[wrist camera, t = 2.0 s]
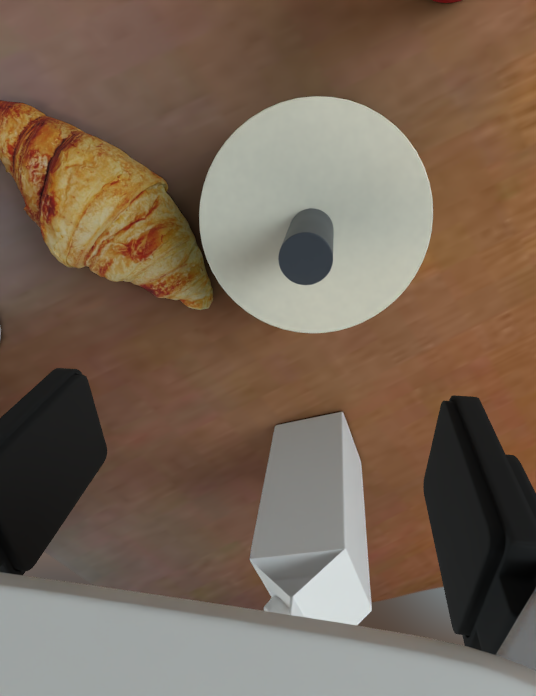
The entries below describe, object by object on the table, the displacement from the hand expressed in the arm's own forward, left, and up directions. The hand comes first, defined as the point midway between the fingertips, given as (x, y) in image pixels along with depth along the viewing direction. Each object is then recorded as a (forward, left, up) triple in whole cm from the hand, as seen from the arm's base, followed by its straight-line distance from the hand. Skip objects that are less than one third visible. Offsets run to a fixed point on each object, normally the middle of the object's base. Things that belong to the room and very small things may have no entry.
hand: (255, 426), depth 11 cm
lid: (0, +1, -17) cm, 17 cm away
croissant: (-15, -5, -25) cm, 29 cm away
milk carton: (+9, -21, -25) cm, 34 cm away
